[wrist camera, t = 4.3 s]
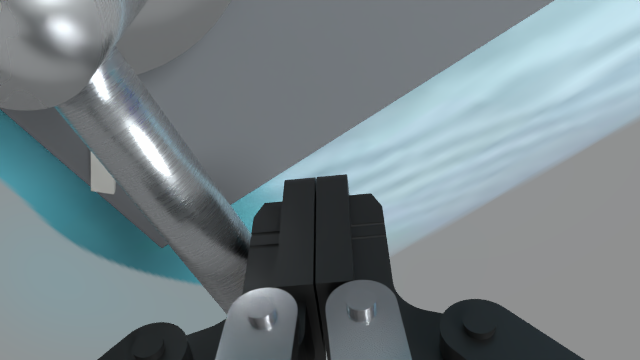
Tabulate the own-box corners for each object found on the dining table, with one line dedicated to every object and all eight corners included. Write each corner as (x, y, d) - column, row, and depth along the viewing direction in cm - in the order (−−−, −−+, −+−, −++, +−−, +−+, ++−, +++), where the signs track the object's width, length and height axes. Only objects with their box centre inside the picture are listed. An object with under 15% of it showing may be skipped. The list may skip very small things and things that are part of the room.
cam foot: (-252, -231, 12) (-606, -236, 8) (97, -510, 10) (-89, -761, 5) (178, 274, 21) (137, 425, 16) (423, 176, 18) (463, 317, 14)
